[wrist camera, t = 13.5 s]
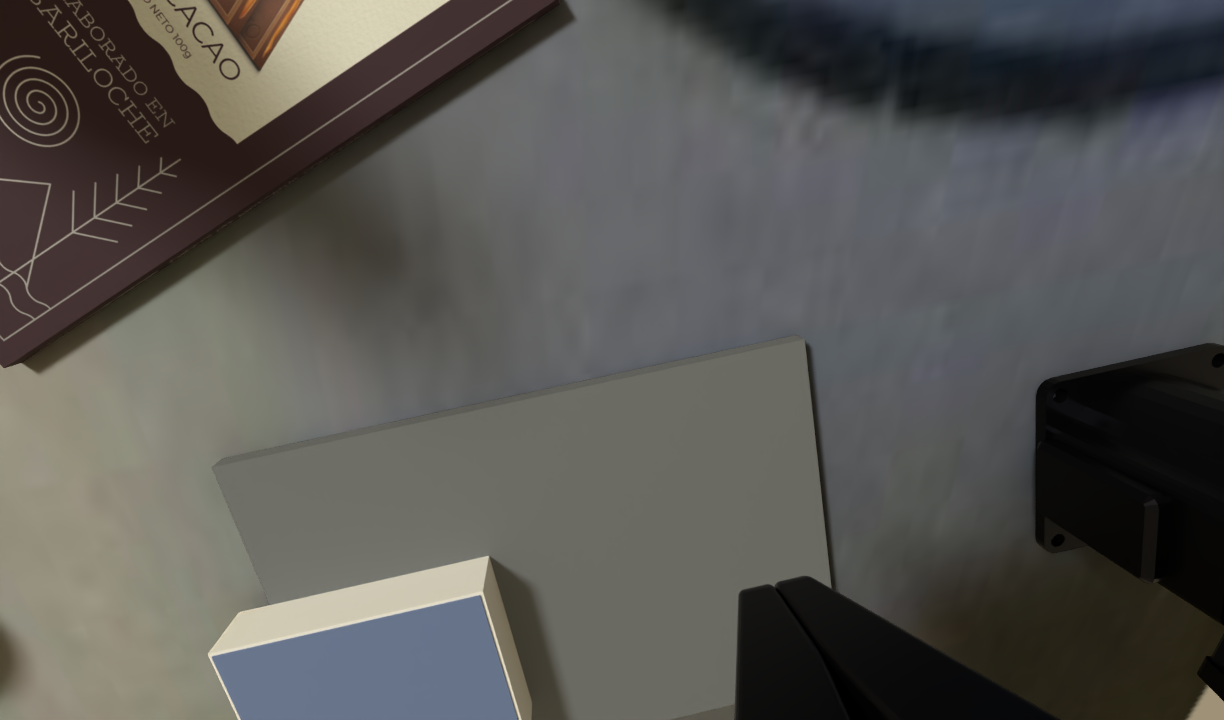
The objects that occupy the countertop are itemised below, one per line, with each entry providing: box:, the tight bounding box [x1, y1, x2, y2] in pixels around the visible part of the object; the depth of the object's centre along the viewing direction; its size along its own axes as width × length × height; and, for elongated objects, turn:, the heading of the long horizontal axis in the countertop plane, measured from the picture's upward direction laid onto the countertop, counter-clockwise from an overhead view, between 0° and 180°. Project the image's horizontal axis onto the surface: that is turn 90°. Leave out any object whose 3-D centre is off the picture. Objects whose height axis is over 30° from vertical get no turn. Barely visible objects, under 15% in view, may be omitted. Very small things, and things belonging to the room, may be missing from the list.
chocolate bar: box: [0, 0, 559, 368], centre depth 15 cm, size 9×1×18 cm
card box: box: [208, 556, 532, 720], centre depth 19 cm, size 6×2×8 cm
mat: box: [212, 335, 832, 720], centre depth 20 cm, size 18×13×1 cm
